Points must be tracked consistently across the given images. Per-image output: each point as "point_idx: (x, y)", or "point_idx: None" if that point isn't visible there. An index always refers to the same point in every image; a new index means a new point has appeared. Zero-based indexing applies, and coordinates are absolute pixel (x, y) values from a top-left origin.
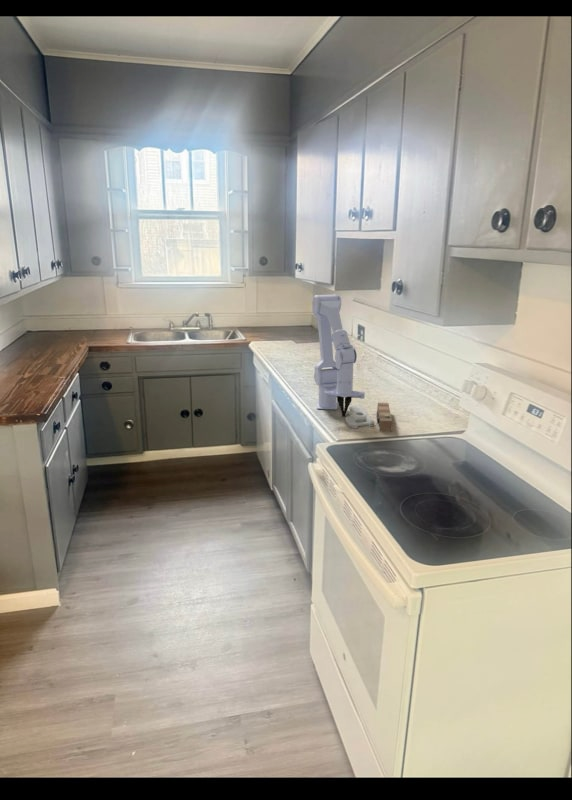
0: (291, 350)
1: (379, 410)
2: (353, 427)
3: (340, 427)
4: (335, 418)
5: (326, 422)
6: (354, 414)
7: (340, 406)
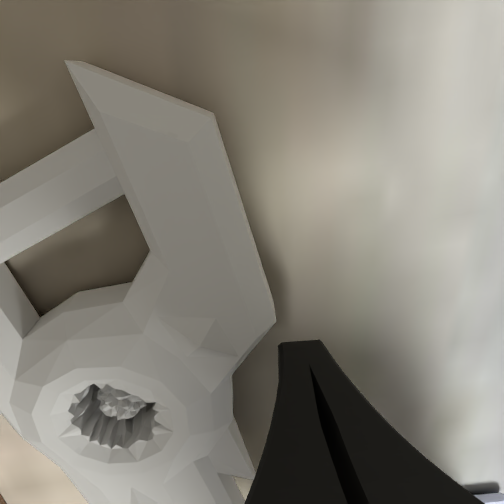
0: None
1: None
2: (148, 88)
3: (332, 93)
4: (373, 355)
5: (485, 238)
6: (171, 389)
7: (406, 450)
